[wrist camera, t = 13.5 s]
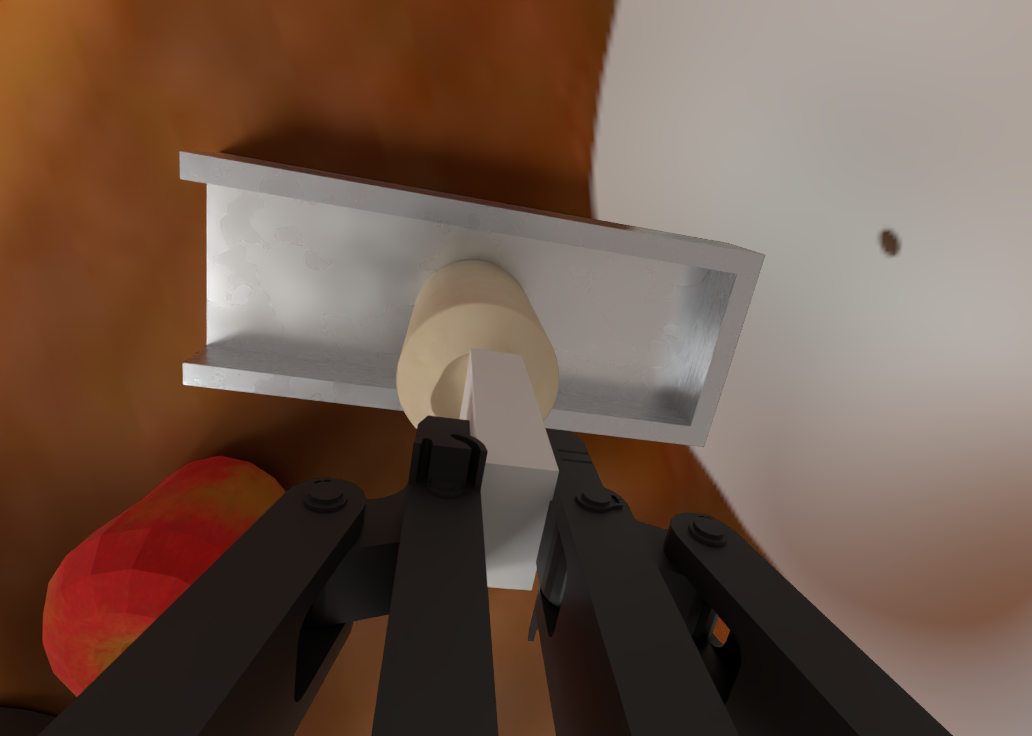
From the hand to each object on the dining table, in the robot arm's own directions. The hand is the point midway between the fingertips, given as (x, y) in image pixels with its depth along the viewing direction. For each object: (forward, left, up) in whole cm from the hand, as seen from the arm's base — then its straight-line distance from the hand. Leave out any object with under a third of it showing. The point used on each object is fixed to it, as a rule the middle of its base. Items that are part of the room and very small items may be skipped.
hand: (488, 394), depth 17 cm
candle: (0, -1, -11) cm, 11 cm away
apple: (-11, -13, -13) cm, 21 cm away
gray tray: (0, 0, -12) cm, 12 cm away
